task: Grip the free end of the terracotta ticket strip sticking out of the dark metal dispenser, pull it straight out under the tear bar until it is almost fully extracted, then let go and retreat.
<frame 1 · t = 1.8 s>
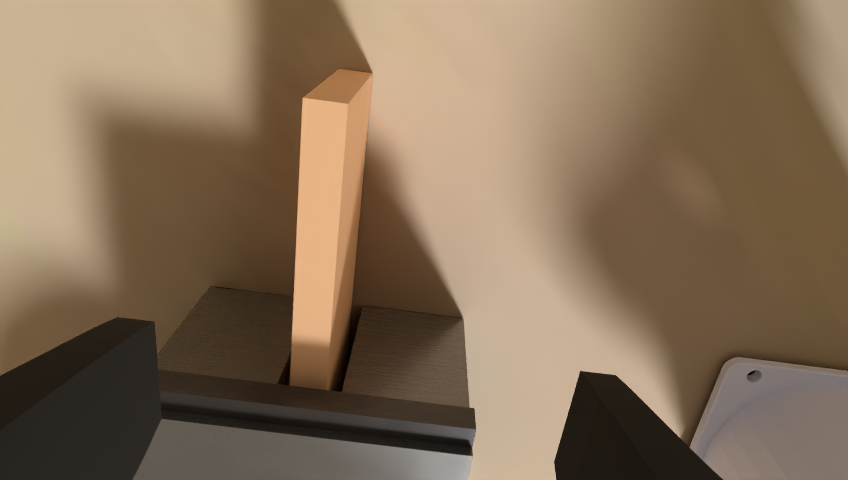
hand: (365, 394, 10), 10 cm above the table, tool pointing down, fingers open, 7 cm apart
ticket: (328, 286, 17), point 2 cm above the table, slide at 0.0 cm
dispenser: (332, 371, 22), on the table
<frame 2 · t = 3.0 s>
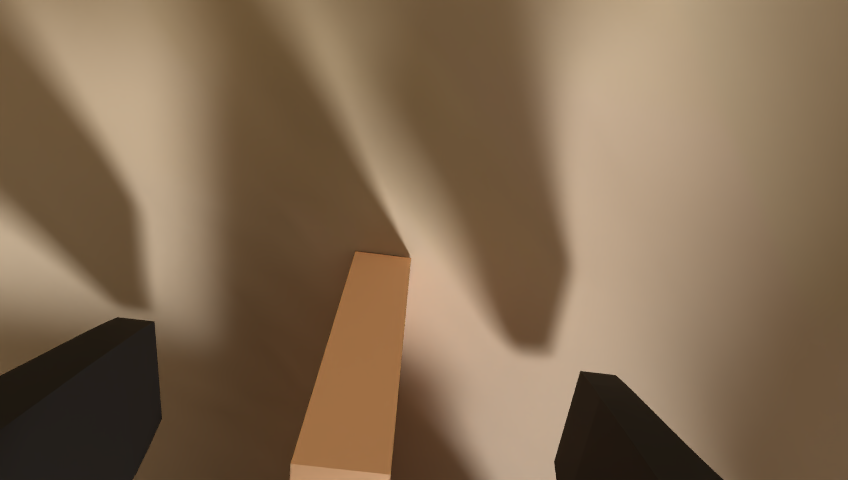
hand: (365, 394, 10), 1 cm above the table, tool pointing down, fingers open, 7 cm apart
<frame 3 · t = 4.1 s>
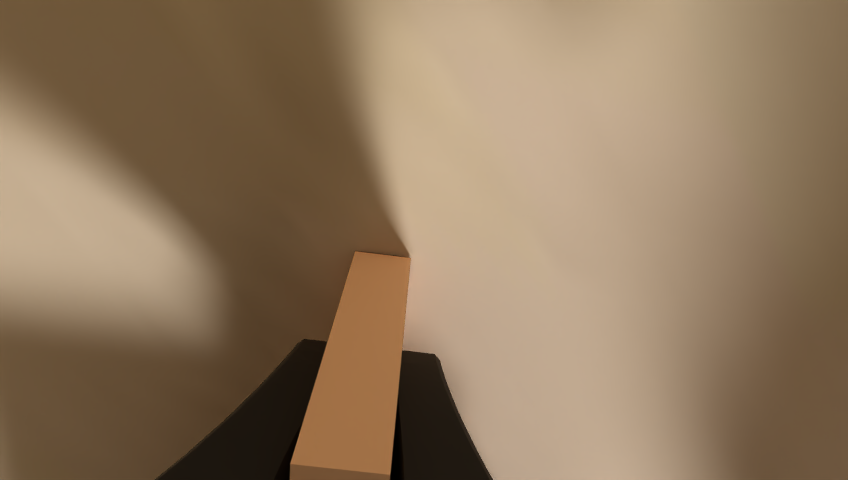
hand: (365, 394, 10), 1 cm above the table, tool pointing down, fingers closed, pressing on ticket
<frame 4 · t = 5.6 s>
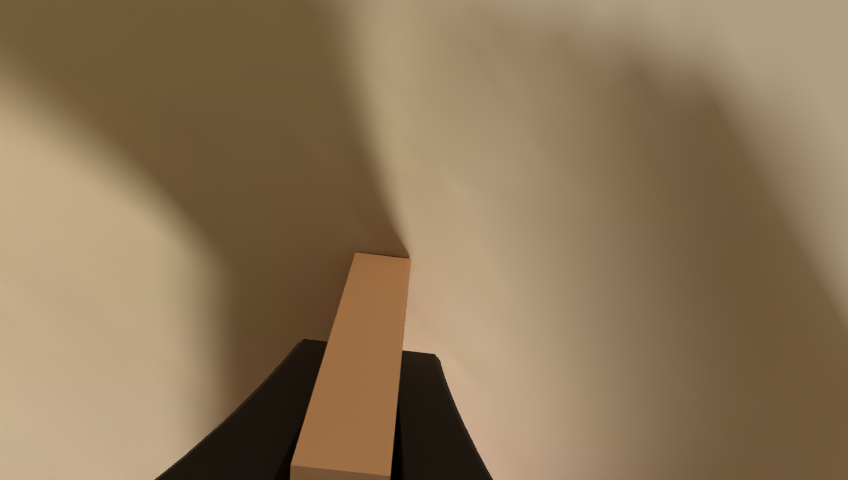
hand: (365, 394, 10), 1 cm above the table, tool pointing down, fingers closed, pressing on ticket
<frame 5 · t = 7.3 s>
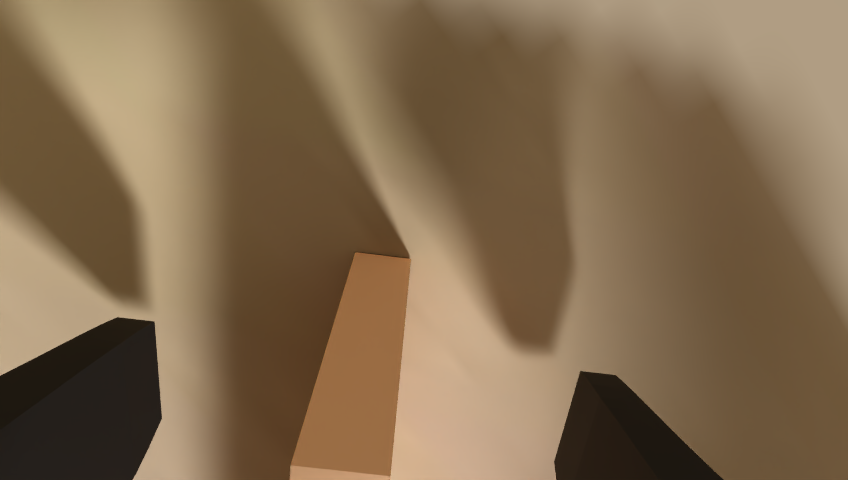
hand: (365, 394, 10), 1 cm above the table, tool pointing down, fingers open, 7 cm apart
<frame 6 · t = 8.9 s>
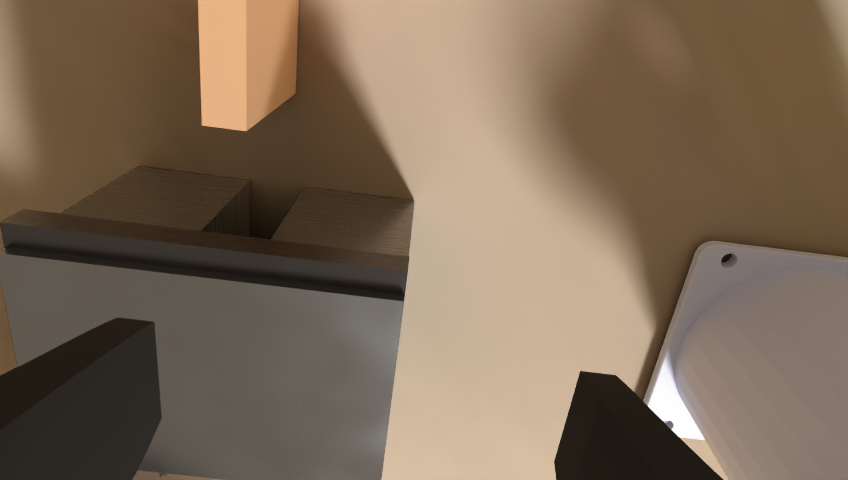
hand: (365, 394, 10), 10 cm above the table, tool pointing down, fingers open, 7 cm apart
teacup with lid: (152, 460, 24), on the table
dispenser: (275, 265, 20), on the table
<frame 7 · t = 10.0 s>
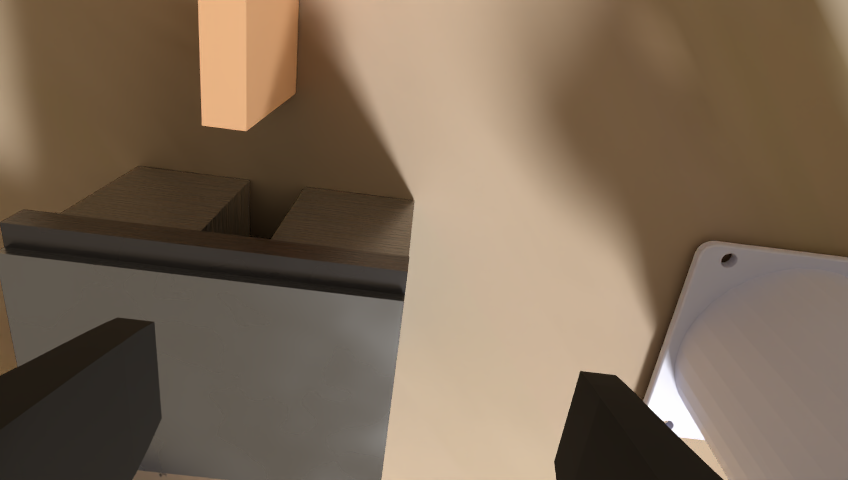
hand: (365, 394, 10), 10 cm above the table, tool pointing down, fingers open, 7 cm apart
teacup with lid: (152, 460, 24), on the table
dispenser: (275, 265, 20), on the table
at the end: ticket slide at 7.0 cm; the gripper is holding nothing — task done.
